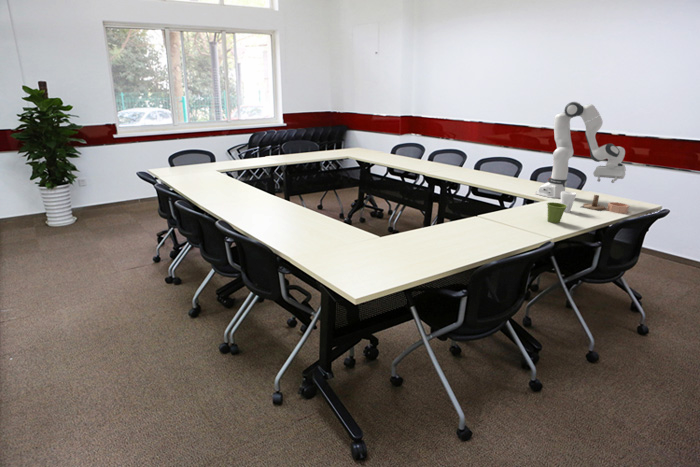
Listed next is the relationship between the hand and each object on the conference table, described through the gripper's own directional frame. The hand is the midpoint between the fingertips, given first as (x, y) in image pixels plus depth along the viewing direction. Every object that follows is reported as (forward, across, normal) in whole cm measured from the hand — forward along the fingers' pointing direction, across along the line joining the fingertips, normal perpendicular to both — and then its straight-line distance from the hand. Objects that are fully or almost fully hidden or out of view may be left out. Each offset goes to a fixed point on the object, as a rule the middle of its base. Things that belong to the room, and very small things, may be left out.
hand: (605, 181), depth 320 cm
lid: (+21, -1, +4) cm, 21 cm away
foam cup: (+39, -10, -15) cm, 43 cm away
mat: (+21, -2, +4) cm, 21 cm away
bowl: (+18, +12, +8) cm, 24 cm away
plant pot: (+62, -3, -38) cm, 72 cm away
